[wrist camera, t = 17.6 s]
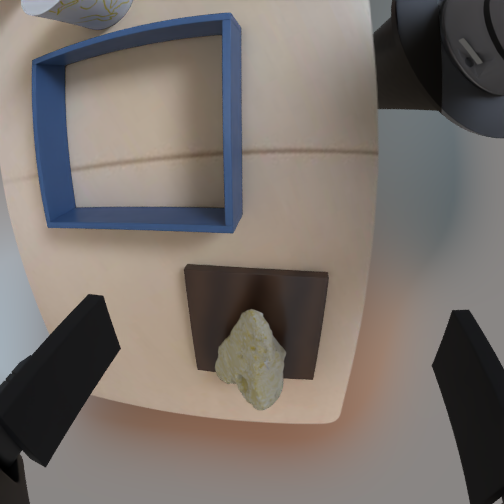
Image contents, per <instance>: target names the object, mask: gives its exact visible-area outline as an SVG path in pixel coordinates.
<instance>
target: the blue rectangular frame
mask: <svg viewBox="0 0 504 504" xmlns="http://www.w3.org/2000/svg"><path fill="white" fill-rule="evenodd" d="M211 35H222V98H223V159H224V197H225V208H199V207H82V208H76V205H75V199H74V192H73V185H72V178H71V170H70V161H69V151H68V140H67V127H66V108H65V65H68V64H71V63H74V62H77V61H81V60H84V59H87V58H91V57H95V56H98V55H102V54H106V53H110V52H114V51H118V50H123V49H127V48H132V47H136V46H141V45H147V44H152V43H158V42H164V41H170V40H177V39H184V38H192V37H201V36H211ZM32 112H33V129H34V141H35V151H36V160H37V168H38V176H39V183H40V189H41V195H42V201H43V207H44V212H45V217H46V222H47V227H48V228H85V229H124V230H157V231H186V232H212V233H234V231H235V229H236V227H237V225H238V223H239V221H240V219H241V217H242V215H243V213H242V114H241V27H240V25H239V24H238V22H237V21H236V20H235V18H234V17H233V15H232V14H231V13H219V14H209V15H200V16H192V17H185V18H178V19H172V20H166V21H161V22H155V23H150V24H145V25H141V26H136V27H132V28H128V29H124V30H120V31H116V32H112V33H108V34H105V35H101V36H98V37H95V38H91V39H88V40H85V41H82V42H79V43H76V44H73V45H70V46H67V47H64V48H62V49H59V50H56V51H54V52H51V53H48V54H46V55H43V56H41V57H39V58H36V59H34V60H32Z"/></svg>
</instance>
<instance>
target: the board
mask: <svg viewBox="0 0 504 504" xmlns="http://www.w3.org/2000/svg"><path fill="white" fill-rule="evenodd" d="M184 274H185V282H186V291H187V299H188V307H189V314H190V322H191V329H192V336H193V343H194V349H195V356H196V362H197V368H198V370H204V371H211V372H216V371H215V364H216V361H217V359H218V349H219V346H220V345H221V344H222V342H224V340H225V339H226V338H228V336H230V334H231V331H232V329H233V327H234V326H235V325H236V324H237V322H238V320H239V319H240V317H241V314H242V313H243V312H245V311H247V310H250V309H253V310H256V311H258V312H261V313H263V317H264V319H265V320H266V321H267V323H268V324H269V327H270V330H272V335H273V336H274V338H275V339H276V340H277V341H278V343H279V344H280V345H281V346H282V347H283V349H284V350H285V351H286V356H285V358H284V369H283V378H288V379H309V380H313V377H314V372H315V366H316V360H317V354H318V348H319V342H320V336H321V330H322V323H323V316H324V309H325V302H326V295H327V287H328V279H329V277H328V272H312V271H293V270H274V269H256V268H239V267H223V266H206V265H191V264H187V266H186V267H185V269H184Z"/></svg>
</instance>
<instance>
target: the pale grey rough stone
mask: <svg viewBox="0 0 504 504" xmlns="http://www.w3.org/2000/svg"><path fill="white" fill-rule="evenodd" d="M285 356H286V351H285V350H284V349H283V347H282V346H281V345H280V344H279V343H278V341H277V340H276V339H275V338H274V336H273V335H272V330H270V327H269V324H268V323H267V321H266V320H265V319H264V317H263V313H261V312H258V311H256V310H253V309H250V310H247V311H245V312H243V313H242V314H241V317H240V319H239V320H238V322H237V324H236V325H235V326H234V327H233V329H232V331H231V334H230V336H228V338H226V339H225V340H224V342H222V344H221V345H220V346H219V349H218V359H217V361H216V364H215V371H216V373H217V375H218V377H219V378H220V380H222V381H224V382H225V383H227V384H232V383H233V384H237V385H238V388H239V390H240V392H241V393H242V395H243V396H244V398H245V399H246V401H247V402H248V403H251V404H252V405H253V407H254V408H255V409H257V410H265V409H267V408H269V407H270V406H272V405H273V404H274V403H275V401H276V400H277V399H278V398H279V396H280V393H281V391H282V388H283V369H284V358H285Z"/></svg>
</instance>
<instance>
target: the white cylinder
mask: <svg viewBox="0 0 504 504" xmlns="http://www.w3.org/2000/svg"><path fill="white" fill-rule="evenodd" d="M132 1H133V0H21V5H22V8H23V10H24V12H25V13H27V14H28V15H32V16H38V17H43V18H48V19H53V20H57V21H62V22H66V23H70V24H74V25H78V26H82V27H86V28H90V29H94V30H101V29H105V28H108V27H110V26H112V25H114V24H115V23H117V22H118V21H119V20H120V19H121V18H122V17H123V16H124V15H125V14H126V13H127V11H128V9H129V8H130V6H131V4H132Z"/></svg>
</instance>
